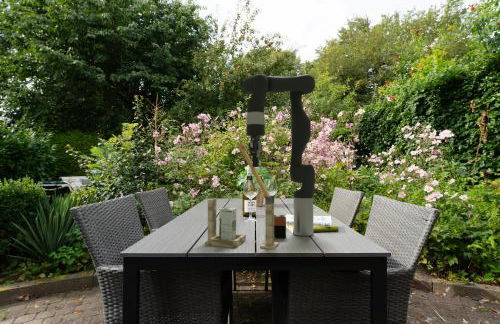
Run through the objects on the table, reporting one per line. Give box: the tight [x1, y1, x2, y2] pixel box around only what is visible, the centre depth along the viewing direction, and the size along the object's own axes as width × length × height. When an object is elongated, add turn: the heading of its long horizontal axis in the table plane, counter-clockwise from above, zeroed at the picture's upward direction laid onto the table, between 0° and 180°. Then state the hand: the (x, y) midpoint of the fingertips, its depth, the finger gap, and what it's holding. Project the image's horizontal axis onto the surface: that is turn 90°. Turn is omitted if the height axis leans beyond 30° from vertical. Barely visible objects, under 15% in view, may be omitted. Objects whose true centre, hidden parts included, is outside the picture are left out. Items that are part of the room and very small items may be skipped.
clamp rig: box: [204, 194, 280, 250], centre depth 129 cm, size 12×30×20 cm, turn 73°
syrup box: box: [218, 207, 237, 240], centre depth 131 cm, size 6×6×14 cm
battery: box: [274, 214, 287, 239], centre depth 142 cm, size 4×7×10 cm, turn 82°
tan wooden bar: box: [237, 141, 271, 197], centre depth 128 cm, size 4×26×2 cm
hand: (255, 166), depth 128 cm, fingers closed
